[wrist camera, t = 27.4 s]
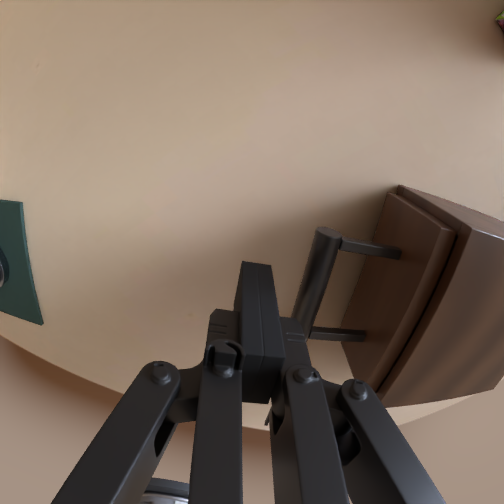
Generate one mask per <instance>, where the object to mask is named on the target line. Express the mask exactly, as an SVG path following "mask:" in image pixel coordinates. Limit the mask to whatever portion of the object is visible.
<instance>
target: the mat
mask: <svg viewBox="0 0 504 504" xmlns="http://www.w3.org/2000/svg"><path fill="white" fill-rule="evenodd" d="M0 248H1V249H2V251H3V252H4V254H5V256H6V259H7V262H8V265H9V278H8V280H7V282H6V283H5V284H4V285H3V286H2V287H1V288H0V311H2V312H4V313H7V314H10V315H12V316H15V317H18V318H21V319H24V320H27V321H29V322H32V323H35V324H38V325H43V320H42V316H41V312H40V308H39V304H38V300H37V296H36V291H35V287H34V282H33V277H32V272H31V267H30V261H29V255H28V248H27V241H26V234H25V225H24V215H23V203H22V202H16V201H7V200H0Z"/></svg>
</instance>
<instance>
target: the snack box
mask: <svg viewBox="0 0 504 504" xmlns="http://www.w3.org/2000/svg"><path fill="white" fill-rule="evenodd" d="M496 21H497V22H498V23H499V25H500V26H501V28H502V30H503V32H504V11H503V12H502V13H501V14H500V15H499V16H498V17H497V18H496Z"/></svg>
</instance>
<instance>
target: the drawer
mask: <svg viewBox="0 0 504 504" xmlns="http://www.w3.org/2000/svg"><path fill="white" fill-rule="evenodd" d="M456 234H457V232H456V231H455V230H453V229H452V228H451V227H449V226H448V225H446V224H445V223H443V222H442V221H440V220H439V219H437V218H436V217H434V216H433V215H431V214H430V213H428V212H427V211H425V210H424V209H422V208H420V207H419V206H417V205H416V204H414V203H413V202H411V201H409V200H408V199H406V198H404V197H403V196H400V195H397V194H393V193H389V192H388V193H387V196H386V200H385V203H384V206H383V210H382V213H381V216H380V220H379V223H378V226H377V229H376V232H375V235H374V238H373V241H372V242H370V241H364V240H359V239H354V238H348V237H343V236H342V234H341V233H340V232H338V231H336V230H334V229H331V228H328V227H317V228H316V231H315V235H314V239H313V242H312V246H311V250H310V253H309V257H308V260H307V264H306V267H305V271H304V274H303V278H302V281H301V285H300V288H299V291H298V295H297V298H296V301H295V305H294V308H293V311H292V314H291V318H296V319H297V321H298V322H299V323H300V324H301V326H302V328H303V332H304V336H305V340H306V341H305V343H306V342H307V339H308V338H309V339H316V340H330V341H341V344H342V346H343V349H344V352H345V355H346V357H347V360H348V363H349V366H350V369H351V371H352V374H353V377H354V379H358V380H362V381H364V382H366V383H367V384H368V385H369V386H370V387H371V388H372V389H373V391H374V392H376V390H377V389H378V387H379V386H380V384H381V383H382V381H383V380H384V378H385V377H386V375H387V374H388V372H391V371H392V369H393V367H394V366H395V364H396V363H397V361H398V359H399V358H400V356H401V354H402V353H403V351H404V349H405V348H406V346H407V344H408V342H409V341H410V339H411V337H412V335H413V334H414V332H415V330H416V328H417V326H418V324H419V322H420V321H421V319H422V317H423V315H424V313H425V311H426V309H427V307H428V305H429V303H430V301H431V299H432V297H433V295H434V292H435V290H436V288H437V286H438V284H439V282H440V279H441V277H442V275H443V273H444V270H445V268H446V266H447V263H448V261H449V258H450V256H451V253H452V251H453V248H454V246H455V243H456V240H457V238H458V236H456ZM338 250H342V251H348V252H354V253H360V254H366V255H368V256H367V259H366V262H365V264H364V267H363V270H362V273H361V275H360V278H359V281H358V283H357V286H356V289H355V291H354V294H353V296H352V299H351V301H350V304H349V306H348V309H347V311H346V314H345V316H344V319H343V321H342V323H341V326H340V328H327V327H316V326H313V323H314V321H315V318H316V315H317V312H318V309H319V307H320V304H321V301H322V298H323V295H324V292H325V289H326V286H327V283H328V281H329V278H330V274H331V271H332V268H333V265H334V262H335V259H336V256H337V253H338Z"/></svg>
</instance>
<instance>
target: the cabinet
mask: <svg viewBox="0 0 504 504" xmlns="http://www.w3.org/2000/svg"><path fill="white" fill-rule="evenodd" d="M396 194H397V195H400V196H403V197H404V198H406V199H408V200H409V201H411V202H413V203H414V204H416V205H417V206H419V207H420V208H422V209H424V210H425V211H427V212H428V213H430V214H431V215H433V216H434V217H436V218H437V219H439V220H440V221H442V222H443V223H445V224H446V225H448V226H449V227H451V228H452V229H453V230H455V231H456V232H457V234H456V236H458V238H457V240H456V243H455V246H454V248H453V251H452V253H451V256H450V258H449V261H448V263H447V266H446V268H445V270H444V273H443V275H442V277H441V279H440V282H439V284H438V286H437V288H436V290H435V292H434V295H433V297H432V299H431V301H430V303H429V305H428V307H427V309H426V311H425V313H424V315H423V317H422V319H421V321H420V322H419V324H418V326H417V328H416V330H415V332H414V334H413V335H412V337H411V339H410V341H409V342H408V344H407V346H406V348H405V349H404V351H403V353H402V354H401V356H400V358H399V359H398V361H397V363H396V364H395V366H394V367H393V369H392V371H391V372H388V374H387V375H386V377H385V378H384V380H383V381H382V383H381V384H380V386H379V387H378V389H377V390H376V392H375V394H376V395H377V397H378V398H379V400H380V401H381V403H382V404H383V406H384V407H385V408H390V407H399V406H408V405H415V404H423V403H429V402H435V401H441V400H447V399H452V398H457V397H462V396H467V395H472V394H476V393H480V392H484V391H488V390H492V389H494V388H495V386H496V385H497V384H498V383H499V381H500V380H501V379H502V377H503V376H504V222H502V221H500V220H498V219H495V218H493V217H490V216H488V215H485V214H483V213H480V212H478V211H475V210H473V209H470V208H467V207H465V206H462V205H459V204H457V203H454V202H451V201H448V200H445V199H443V198H440V197H437V196H434V195H431V194H428V193H425V192H422V191H419V190H416V189H412V188H409V187H406V186H403V185H399V186H398V189H397V193H396Z"/></svg>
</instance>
